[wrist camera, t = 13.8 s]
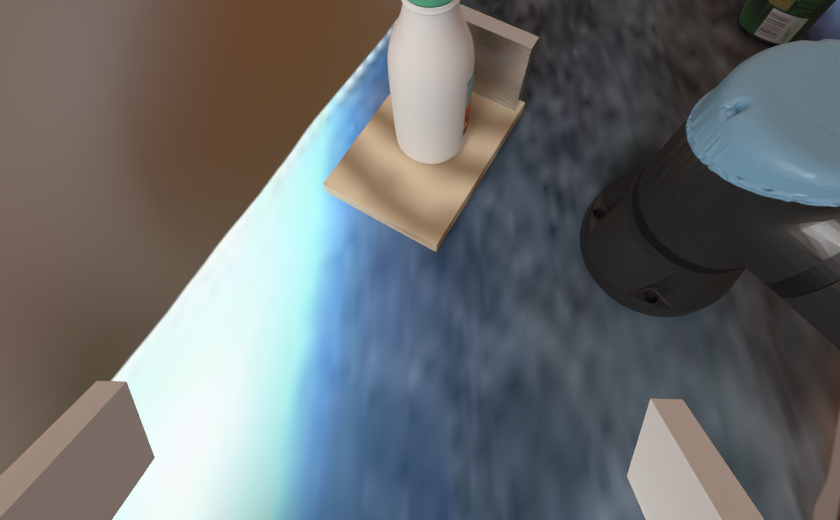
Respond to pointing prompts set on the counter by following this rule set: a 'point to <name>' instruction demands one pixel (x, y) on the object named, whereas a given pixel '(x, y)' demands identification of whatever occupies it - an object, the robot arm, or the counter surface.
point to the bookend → (499, 58)
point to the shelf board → (419, 172)
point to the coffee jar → (781, 18)
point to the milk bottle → (431, 79)
